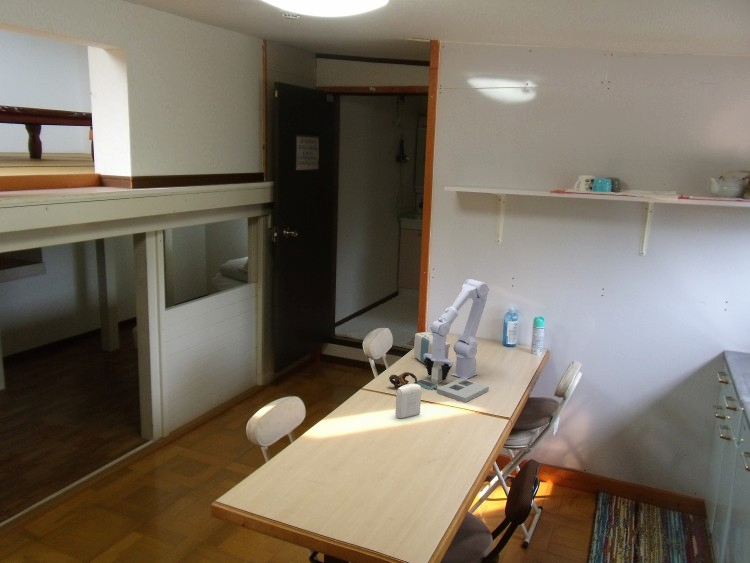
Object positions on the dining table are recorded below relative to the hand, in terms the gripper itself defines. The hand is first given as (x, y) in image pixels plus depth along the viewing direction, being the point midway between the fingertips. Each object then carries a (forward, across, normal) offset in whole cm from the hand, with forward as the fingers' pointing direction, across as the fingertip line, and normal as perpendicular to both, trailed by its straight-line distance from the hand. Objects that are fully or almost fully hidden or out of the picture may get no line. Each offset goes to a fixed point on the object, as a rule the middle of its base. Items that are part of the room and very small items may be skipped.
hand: (437, 377), depth 271 cm
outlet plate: (+2, +15, -2) cm, 15 cm away
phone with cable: (+2, +2, -8) cm, 8 cm away
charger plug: (+2, 0, 0) cm, 2 cm away
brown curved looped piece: (+2, -5, -18) cm, 18 cm away
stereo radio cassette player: (+2, -15, +16) cm, 22 cm away
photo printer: (+2, +13, -37) cm, 39 cm away
